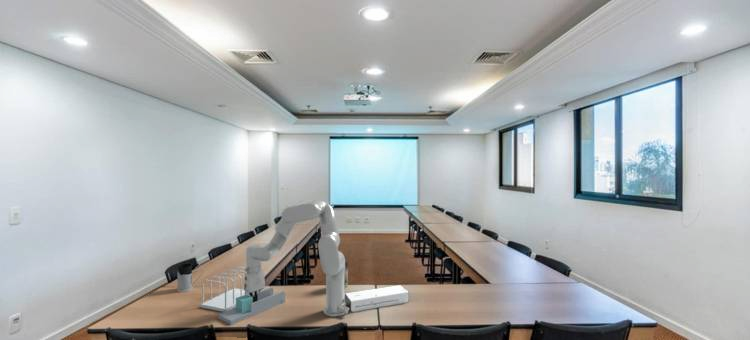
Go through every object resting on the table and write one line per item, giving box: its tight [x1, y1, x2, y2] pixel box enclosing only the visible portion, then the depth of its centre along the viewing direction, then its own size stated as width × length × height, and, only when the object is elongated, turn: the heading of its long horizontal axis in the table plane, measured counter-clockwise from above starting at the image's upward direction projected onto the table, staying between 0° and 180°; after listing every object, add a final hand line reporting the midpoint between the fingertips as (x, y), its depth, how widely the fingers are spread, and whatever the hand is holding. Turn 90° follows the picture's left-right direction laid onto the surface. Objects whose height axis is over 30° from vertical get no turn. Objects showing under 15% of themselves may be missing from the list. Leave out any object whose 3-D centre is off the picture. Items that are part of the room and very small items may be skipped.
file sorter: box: [200, 266, 246, 313], centre depth 186 cm, size 25×17×16 cm
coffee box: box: [344, 260, 349, 289], centre depth 204 cm, size 9×6×16 cm
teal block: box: [236, 295, 253, 313], centre depth 171 cm, size 6×6×6 cm
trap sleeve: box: [217, 286, 286, 326], centre depth 174 cm, size 12×32×6 cm, turn 144°
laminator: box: [344, 284, 410, 313], centre depth 183 cm, size 34×12×6 cm, turn 111°
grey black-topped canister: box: [176, 263, 204, 293], centre depth 204 cm, size 9×14×15 cm, turn 118°
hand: (254, 302), depth 175 cm, fingers closed
